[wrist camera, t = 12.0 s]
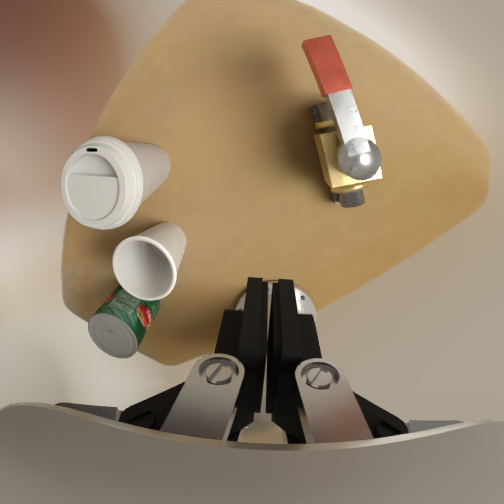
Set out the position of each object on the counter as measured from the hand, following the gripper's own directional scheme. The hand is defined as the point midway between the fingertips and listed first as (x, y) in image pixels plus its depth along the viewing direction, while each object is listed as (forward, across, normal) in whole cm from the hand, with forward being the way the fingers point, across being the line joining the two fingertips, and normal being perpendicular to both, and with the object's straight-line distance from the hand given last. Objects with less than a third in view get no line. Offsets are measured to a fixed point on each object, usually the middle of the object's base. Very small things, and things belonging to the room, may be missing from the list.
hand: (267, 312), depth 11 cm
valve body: (+29, -9, -5) cm, 31 cm away
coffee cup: (+29, +16, -2) cm, 34 cm away
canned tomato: (+29, +20, +19) cm, 40 cm away
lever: (+21, -7, -10) cm, 24 cm away
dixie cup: (+29, +14, +9) cm, 34 cm away
